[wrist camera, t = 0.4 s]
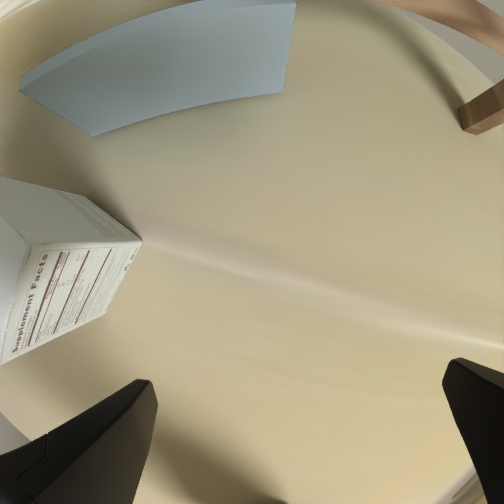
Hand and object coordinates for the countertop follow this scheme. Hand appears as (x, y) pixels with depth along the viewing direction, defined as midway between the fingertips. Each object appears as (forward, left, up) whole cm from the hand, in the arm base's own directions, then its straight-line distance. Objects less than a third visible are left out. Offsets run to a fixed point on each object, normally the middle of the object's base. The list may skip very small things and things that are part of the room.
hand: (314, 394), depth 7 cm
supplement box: (+1, +15, -14) cm, 21 cm away
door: (+14, +10, -13) cm, 22 cm away
